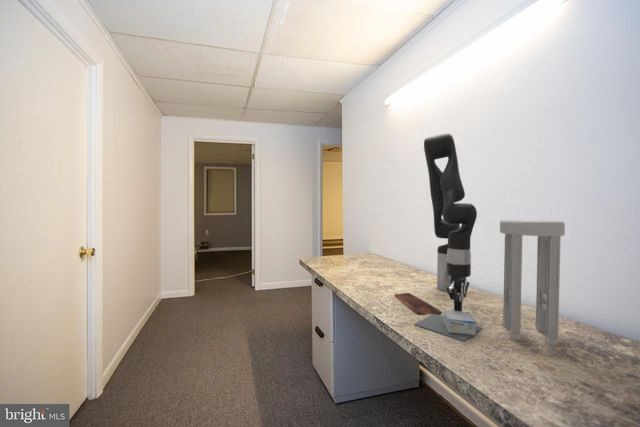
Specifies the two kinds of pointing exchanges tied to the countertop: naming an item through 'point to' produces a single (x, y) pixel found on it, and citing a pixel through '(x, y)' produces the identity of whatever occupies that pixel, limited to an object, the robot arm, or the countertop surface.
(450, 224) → the robot arm
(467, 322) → the medicine box
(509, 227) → the stool
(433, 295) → the countertop surface
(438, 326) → the mat
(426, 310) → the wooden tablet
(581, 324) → the countertop surface
